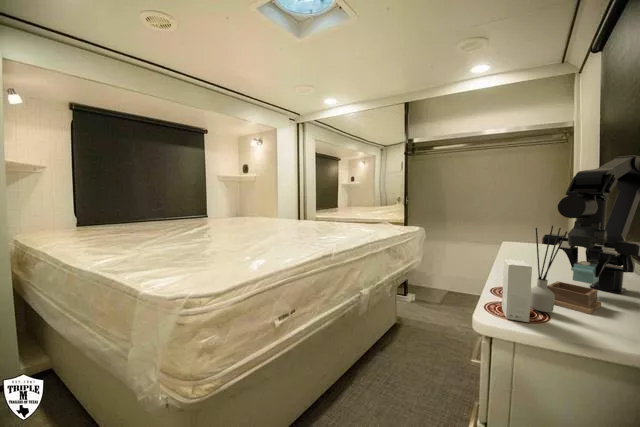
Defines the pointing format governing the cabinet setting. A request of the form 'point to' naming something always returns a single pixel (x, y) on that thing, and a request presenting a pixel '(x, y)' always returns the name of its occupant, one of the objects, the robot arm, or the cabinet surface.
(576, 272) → the block
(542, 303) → the reed diffuser
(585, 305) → the pocket holder
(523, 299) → the skincare box
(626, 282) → the cabinet surface
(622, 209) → the robot arm
